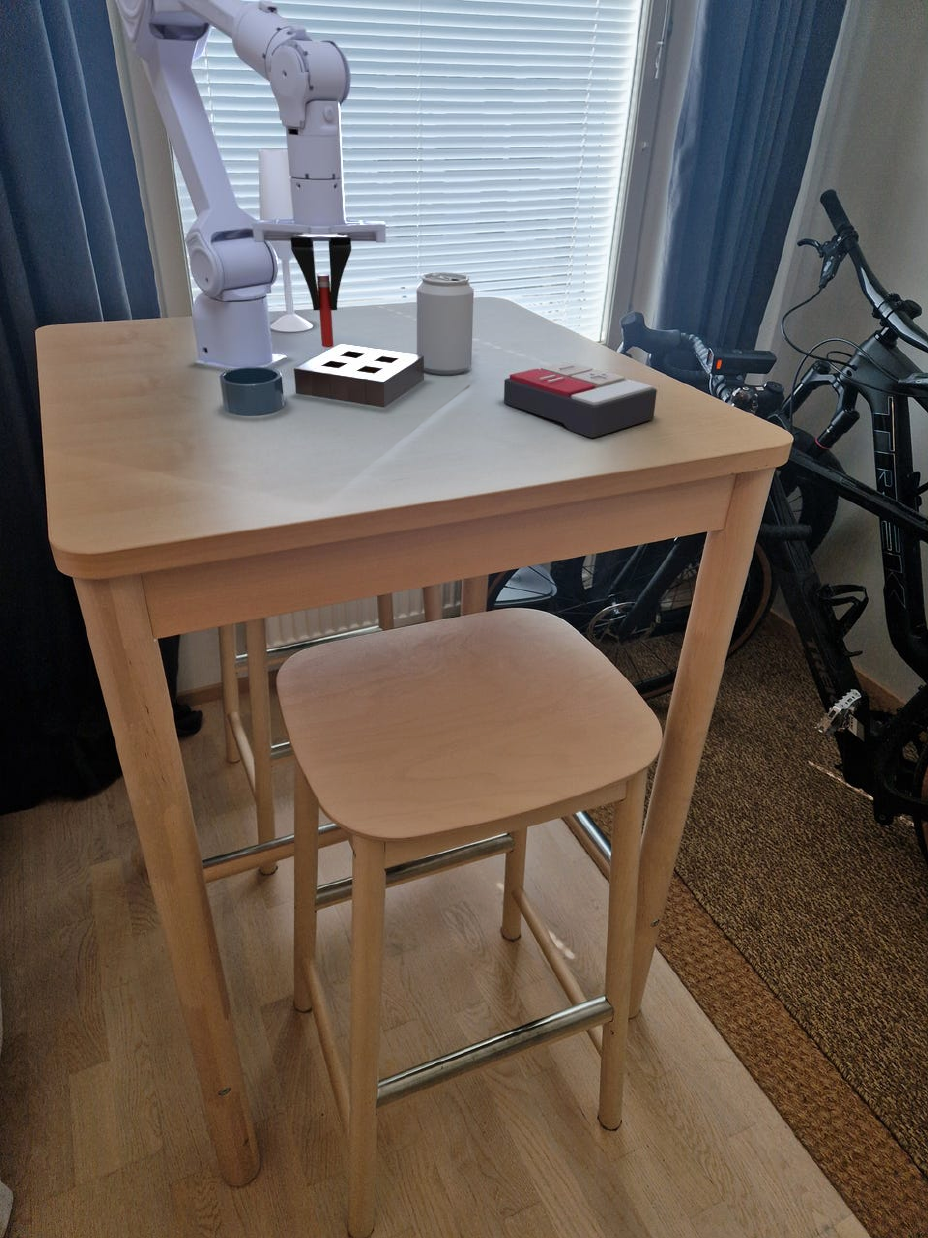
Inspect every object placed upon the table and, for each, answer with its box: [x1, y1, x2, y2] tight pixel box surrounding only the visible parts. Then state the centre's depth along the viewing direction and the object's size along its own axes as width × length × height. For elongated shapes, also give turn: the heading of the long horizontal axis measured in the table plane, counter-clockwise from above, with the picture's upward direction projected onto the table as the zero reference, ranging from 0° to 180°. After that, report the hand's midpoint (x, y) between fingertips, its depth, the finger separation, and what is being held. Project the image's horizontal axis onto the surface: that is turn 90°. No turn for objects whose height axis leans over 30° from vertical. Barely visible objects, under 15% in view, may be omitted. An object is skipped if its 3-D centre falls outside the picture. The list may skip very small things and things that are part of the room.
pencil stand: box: [293, 343, 425, 409], centre depth 100 cm, size 12×12×4 cm
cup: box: [219, 367, 285, 417], centre depth 93 cm, size 7×7×4 cm
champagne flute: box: [258, 148, 314, 333], centre depth 119 cm, size 7×7×24 cm
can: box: [416, 271, 475, 376], centre depth 106 cm, size 8×8×12 cm
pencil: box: [316, 273, 334, 348], centre depth 94 cm, size 1×1×8 cm
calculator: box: [503, 361, 658, 439], centre depth 96 cm, size 11×4×15 cm
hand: (325, 308), depth 94 cm, fingers closed on pencil, 1 cm apart
